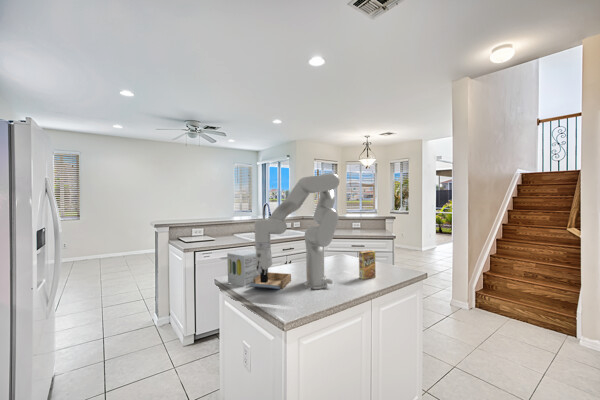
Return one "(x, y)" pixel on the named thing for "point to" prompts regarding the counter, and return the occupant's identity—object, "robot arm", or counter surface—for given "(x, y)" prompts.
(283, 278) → the crate
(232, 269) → the supplement box
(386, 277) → the counter surface
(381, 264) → the counter surface
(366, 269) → the candy box
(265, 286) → the panel
